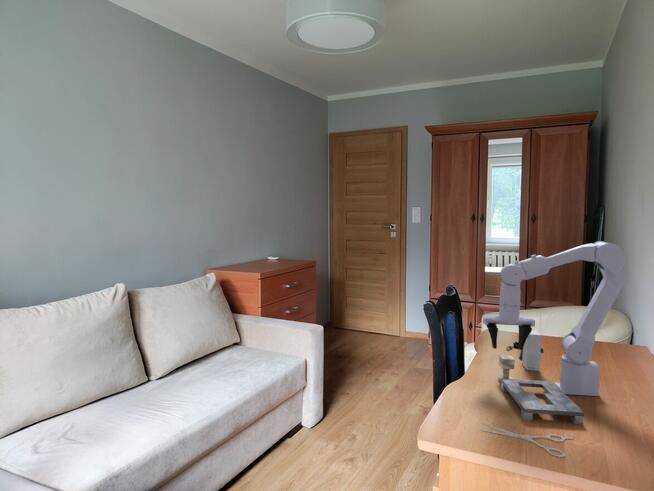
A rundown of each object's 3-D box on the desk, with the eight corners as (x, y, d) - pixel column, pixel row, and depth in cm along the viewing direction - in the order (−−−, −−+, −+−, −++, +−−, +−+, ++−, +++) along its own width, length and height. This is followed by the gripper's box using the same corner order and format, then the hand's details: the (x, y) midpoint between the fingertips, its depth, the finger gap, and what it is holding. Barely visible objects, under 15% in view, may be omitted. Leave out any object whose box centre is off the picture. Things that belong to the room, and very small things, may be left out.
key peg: (510, 379, 137) (512, 355, 136) (515, 384, 133) (516, 360, 132) (496, 378, 137) (497, 354, 137) (500, 383, 133) (501, 359, 133)
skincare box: (539, 371, 144) (542, 335, 143) (526, 370, 145) (528, 334, 144) (535, 365, 150) (537, 330, 149) (521, 363, 151) (523, 329, 150)
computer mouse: (499, 357, 158) (499, 346, 158) (510, 346, 173) (511, 336, 172) (536, 365, 152) (537, 353, 151) (544, 352, 166) (545, 342, 165)
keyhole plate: (551, 391, 128) (551, 381, 128) (583, 424, 108) (584, 412, 108) (501, 388, 129) (501, 378, 129) (523, 420, 110) (524, 408, 109)
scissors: (573, 459, 92) (474, 434, 102) (573, 463, 92) (473, 437, 102) (573, 437, 101) (482, 415, 111) (573, 440, 101) (481, 418, 111)
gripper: (530, 302, 136) (527, 345, 137) (481, 300, 138) (479, 343, 139) (538, 307, 129) (535, 352, 130) (487, 305, 131) (485, 350, 132)
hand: (507, 348), depth 134 cm, fingers open, 7 cm apart
